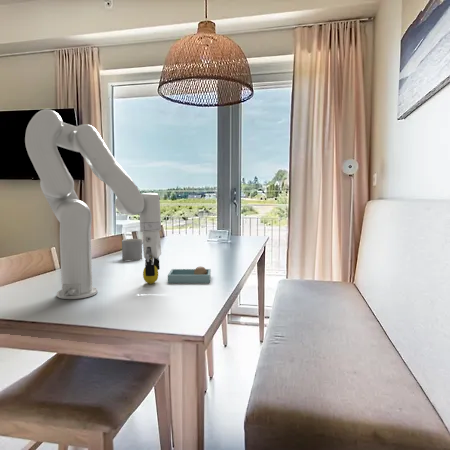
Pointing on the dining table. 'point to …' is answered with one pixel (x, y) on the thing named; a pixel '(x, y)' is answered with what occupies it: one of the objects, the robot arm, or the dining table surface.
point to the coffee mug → (132, 249)
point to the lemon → (151, 278)
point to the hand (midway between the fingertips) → (152, 272)
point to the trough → (188, 276)
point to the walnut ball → (200, 271)
